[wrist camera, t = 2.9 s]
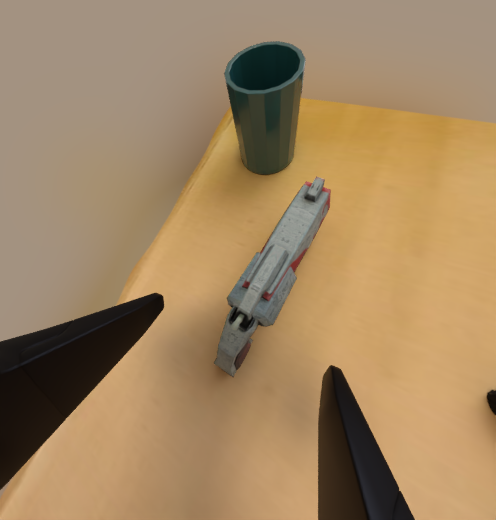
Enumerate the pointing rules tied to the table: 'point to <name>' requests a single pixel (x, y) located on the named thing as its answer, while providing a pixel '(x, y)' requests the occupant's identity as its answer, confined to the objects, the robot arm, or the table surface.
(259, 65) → the pen holder
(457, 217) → the table surface
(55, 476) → the table surface
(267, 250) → the toy gun
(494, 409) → the toy
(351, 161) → the table surface
